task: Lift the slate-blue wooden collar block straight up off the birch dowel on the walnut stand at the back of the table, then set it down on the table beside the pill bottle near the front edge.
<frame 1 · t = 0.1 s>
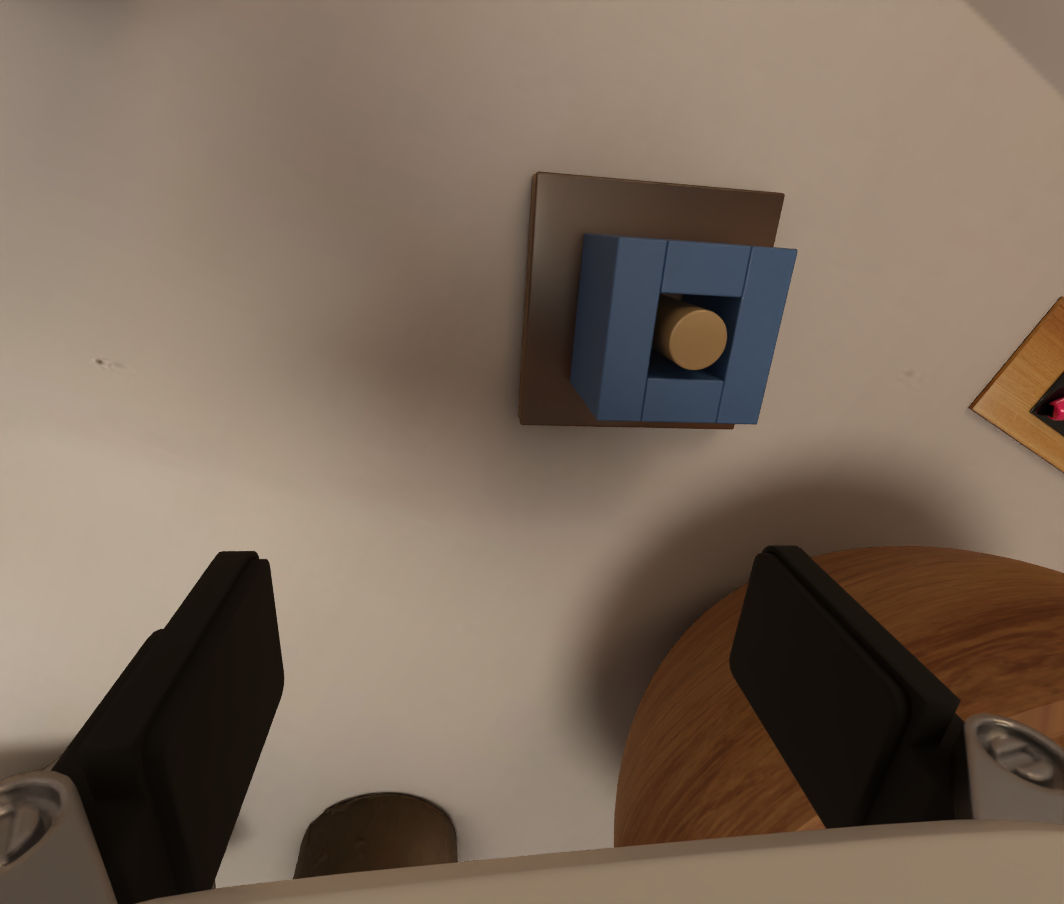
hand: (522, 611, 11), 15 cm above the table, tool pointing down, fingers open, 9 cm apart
bowl: (769, 643, 33), on the table
pillar candle: (382, 841, 35), on the table
collar block: (646, 315, 23), point 1 cm above the table, touching dowel stand
dowel stand: (637, 310, 24), on the table
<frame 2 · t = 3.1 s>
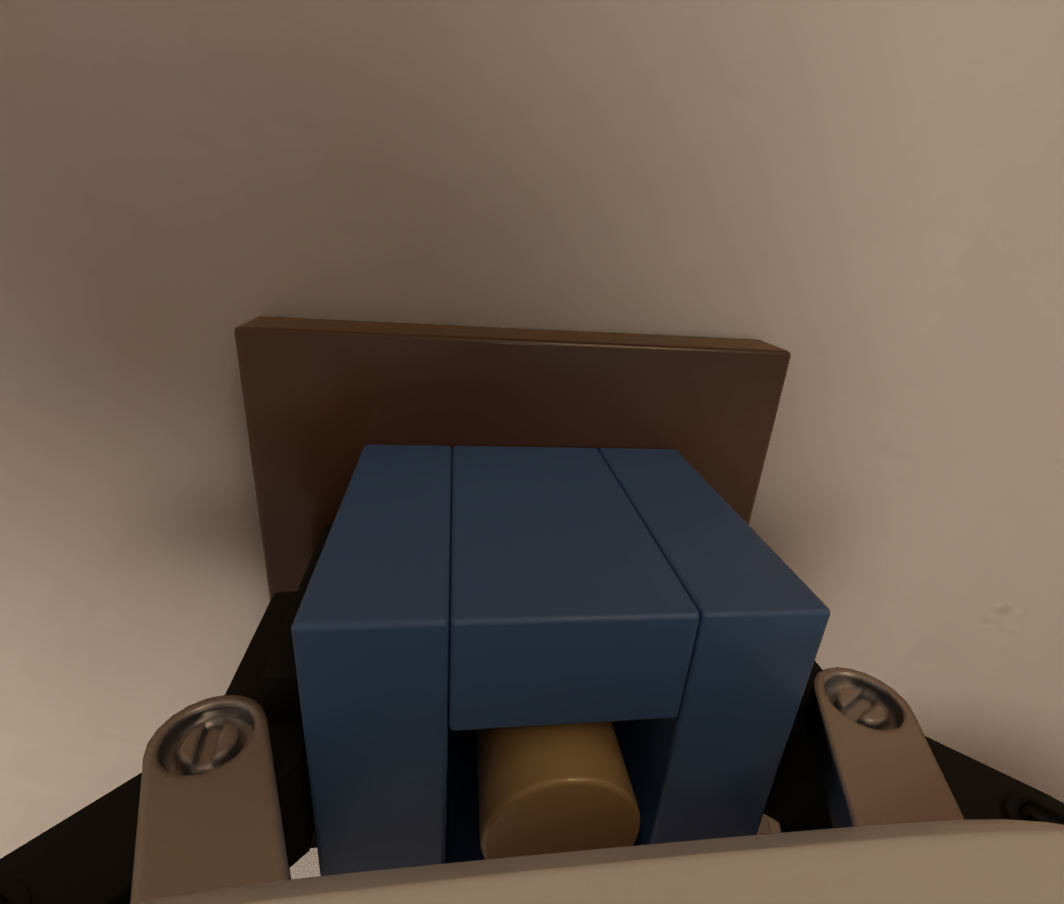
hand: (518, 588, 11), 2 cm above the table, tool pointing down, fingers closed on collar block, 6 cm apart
collar block: (517, 577, 12), point 1 cm above the table, touching dowel stand, gripper
dowel stand: (511, 546, 13), on the table
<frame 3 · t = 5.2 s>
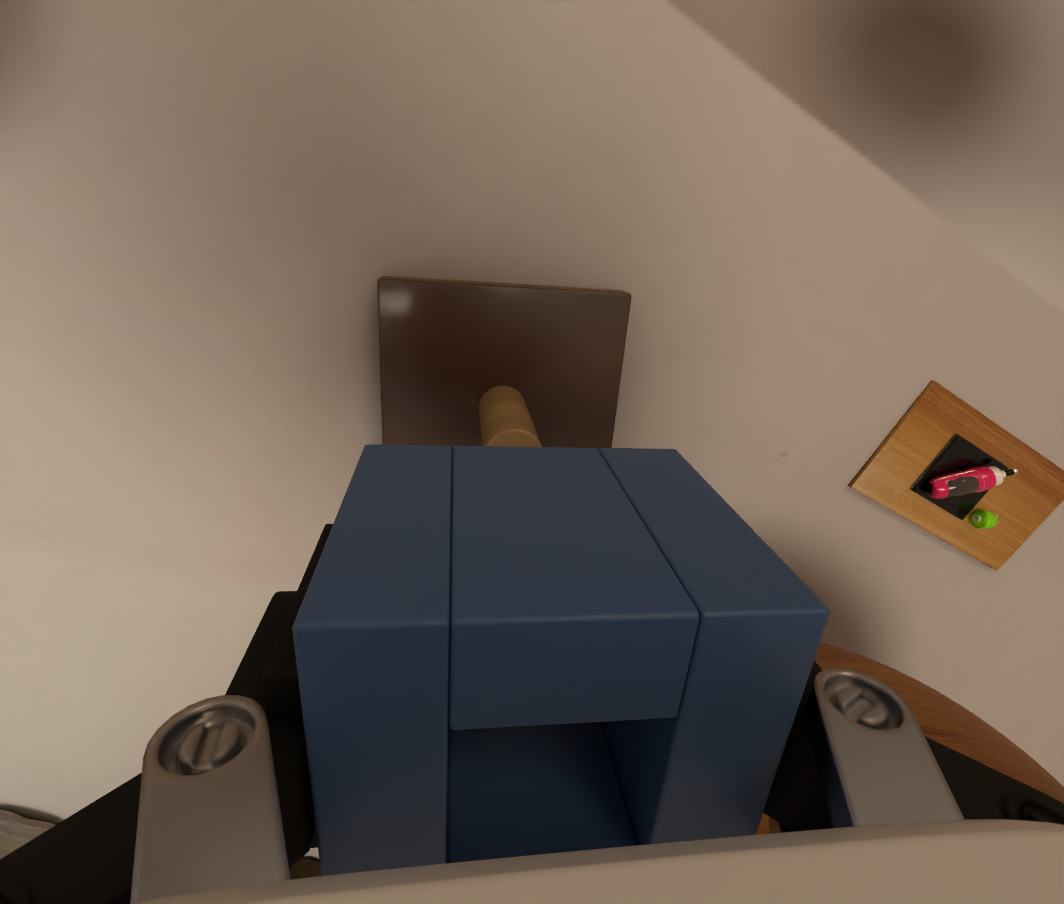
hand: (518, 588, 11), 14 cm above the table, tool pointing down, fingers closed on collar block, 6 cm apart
bowl: (667, 709, 33), on the table
pillar candle: (287, 902, 36), on the table
collar block: (517, 577, 12), point 14 cm above the table, touching gripper
dowel stand: (500, 400, 25), on the table
decorative stone: (3, 862, 31), on the table
board: (962, 481, 30), on the table
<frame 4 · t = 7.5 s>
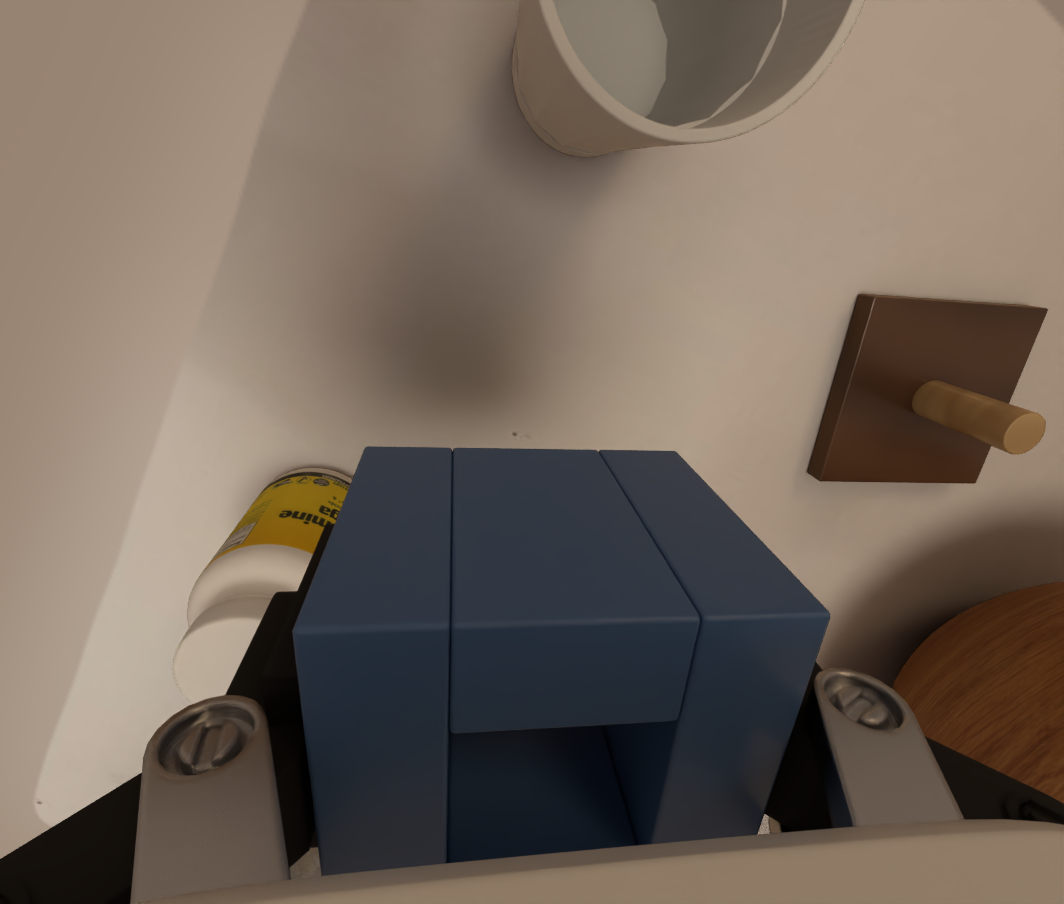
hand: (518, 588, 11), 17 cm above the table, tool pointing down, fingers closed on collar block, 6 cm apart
bowl: (958, 652, 40), on the table
pill bottle: (320, 515, 29), on the table
collar block: (517, 578, 12), point 17 cm above the table, touching gripper
cup: (587, 71, 23), on the table
dowel stand: (912, 392, 31), on the table
decorative stone: (420, 778, 38), on the table
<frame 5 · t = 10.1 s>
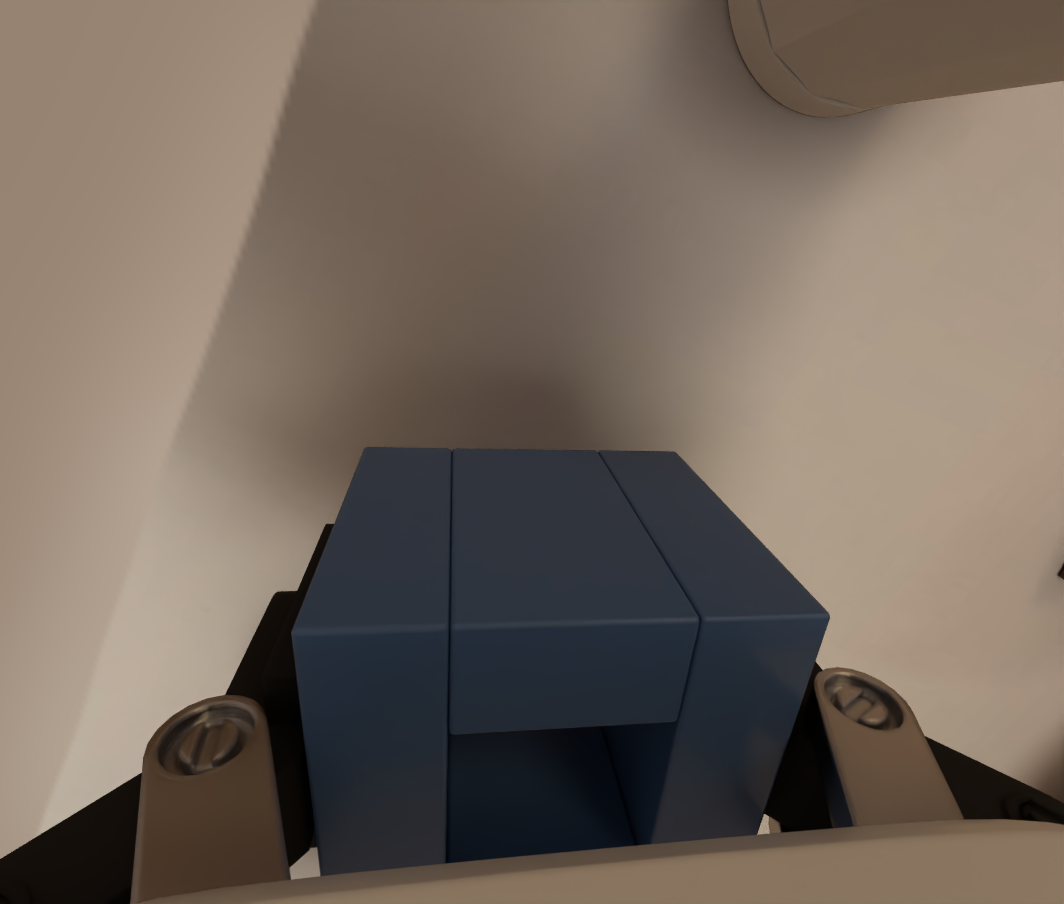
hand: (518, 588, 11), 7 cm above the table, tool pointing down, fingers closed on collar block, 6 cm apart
pill bottle: (375, 656, 20), on the table
collar block: (516, 579, 12), point 6 cm above the table, touching gripper
when the fingers open (0 cm above the table, at t = 12.1 s): collar block stays where it is, on the table.
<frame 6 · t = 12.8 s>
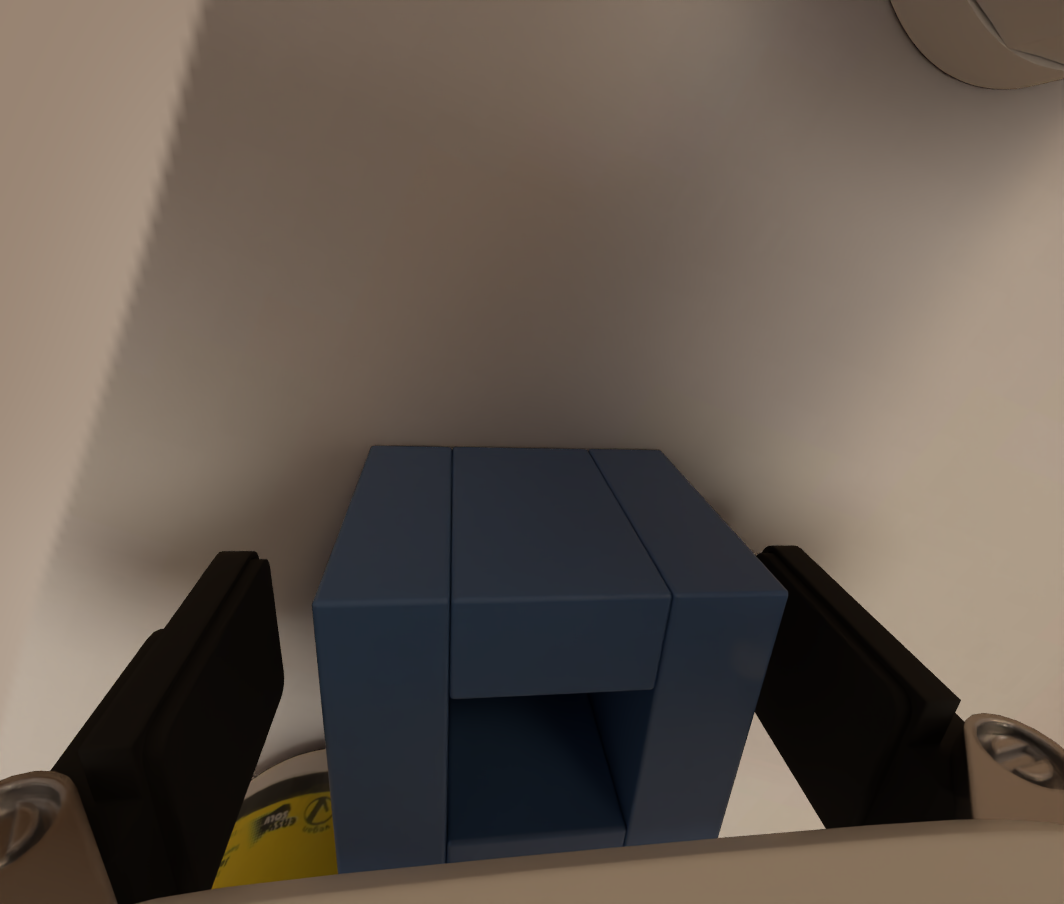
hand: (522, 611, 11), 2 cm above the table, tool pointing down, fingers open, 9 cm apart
pill bottle: (349, 812, 15), on the table
collar block: (513, 570, 12), on the table
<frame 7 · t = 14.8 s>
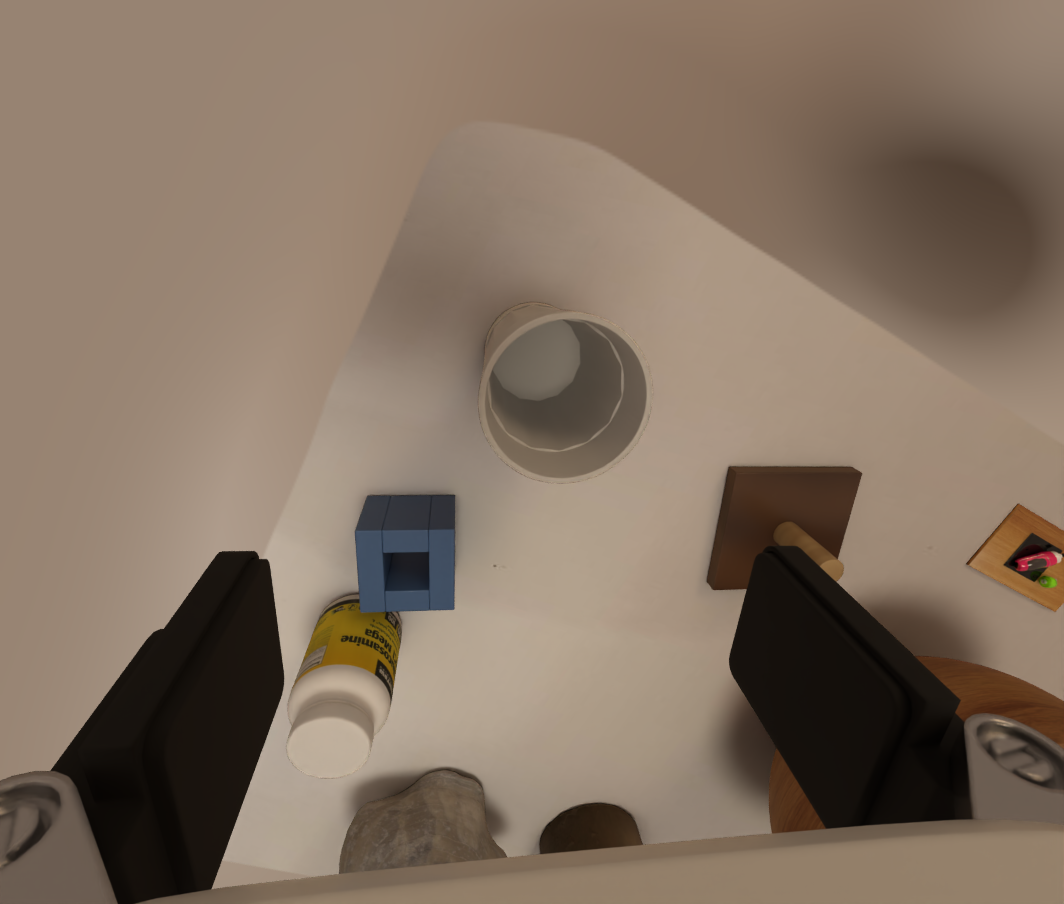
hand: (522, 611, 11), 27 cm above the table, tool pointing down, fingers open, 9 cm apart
bowl: (843, 703, 52), on the table
pillar candle: (588, 836, 54), on the table
pill bottle: (361, 623, 42), on the table
collar block: (412, 533, 40), on the table
cup: (532, 351, 36), on the table
dowel stand: (777, 525, 43), on the table
decorative stone: (433, 806, 50), on the table
board: (1034, 558, 48), on the table
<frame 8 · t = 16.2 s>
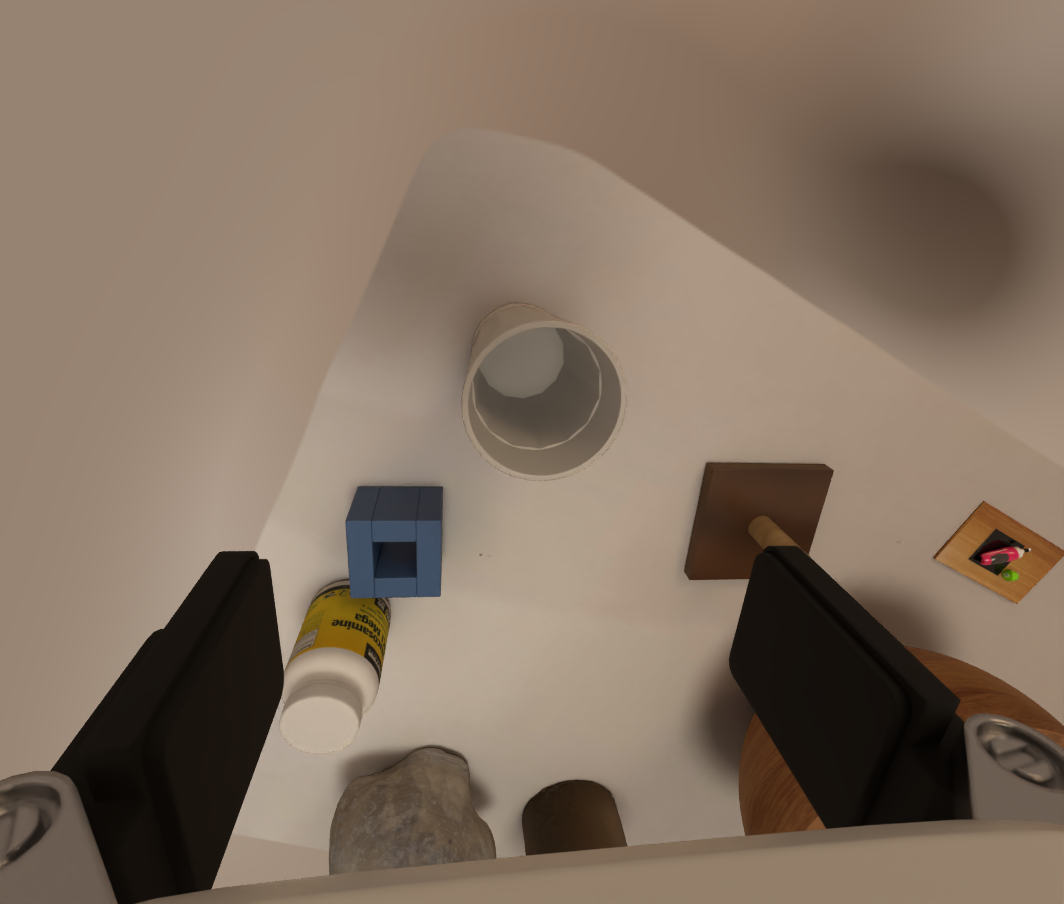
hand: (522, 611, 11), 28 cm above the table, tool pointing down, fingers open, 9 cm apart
bowl: (813, 688, 54), on the table
pillar candle: (568, 811, 56), on the table
pill bottle: (351, 608, 44), on the table
collar block: (401, 522, 41), on the table
cup: (518, 350, 38), on the table
dowel stand: (752, 519, 45), on the table
decorative stone: (420, 782, 52), on the table
board: (998, 553, 50), on the table
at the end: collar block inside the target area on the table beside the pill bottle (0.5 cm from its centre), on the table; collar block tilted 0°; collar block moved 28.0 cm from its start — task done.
